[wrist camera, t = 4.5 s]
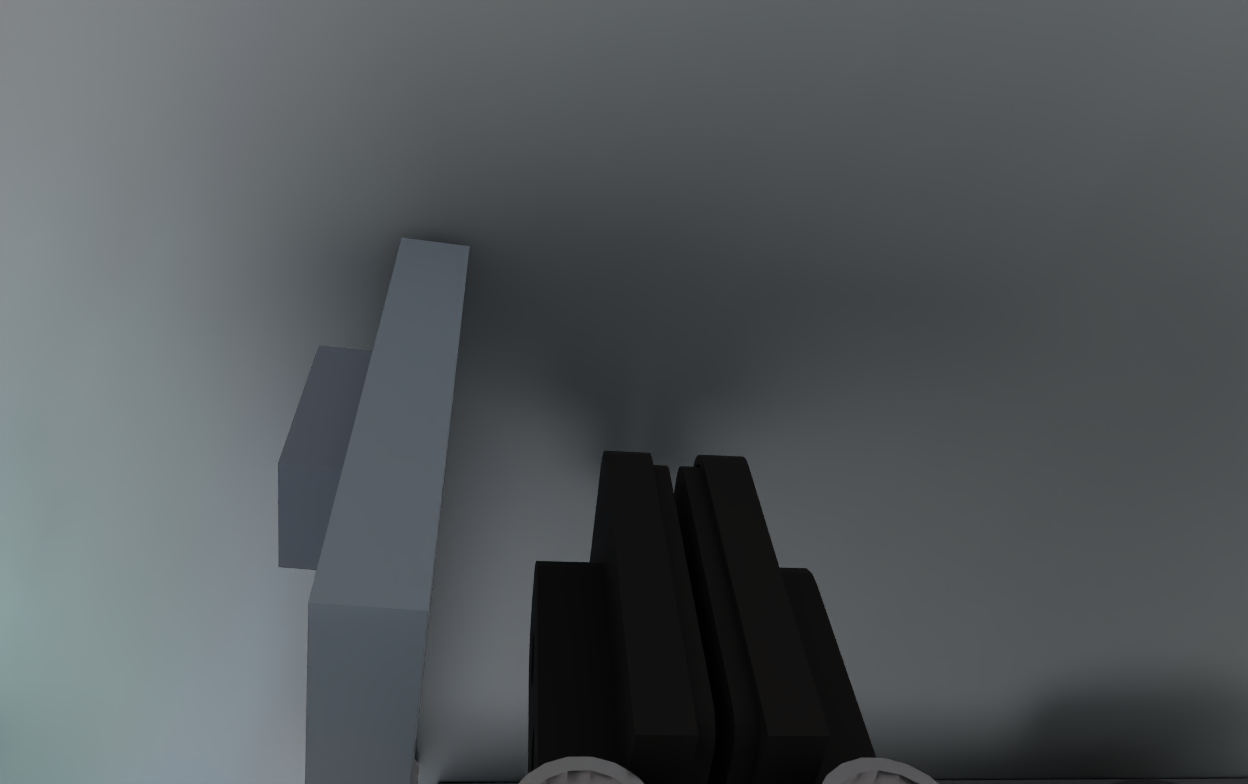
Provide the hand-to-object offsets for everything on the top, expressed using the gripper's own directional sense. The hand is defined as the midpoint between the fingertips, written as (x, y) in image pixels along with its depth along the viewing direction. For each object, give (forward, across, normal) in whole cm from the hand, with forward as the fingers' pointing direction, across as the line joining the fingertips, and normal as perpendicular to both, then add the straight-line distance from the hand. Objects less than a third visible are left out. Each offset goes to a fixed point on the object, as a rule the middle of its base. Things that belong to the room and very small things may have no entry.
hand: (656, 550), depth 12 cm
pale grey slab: (+2, +3, +2) cm, 5 cm away
